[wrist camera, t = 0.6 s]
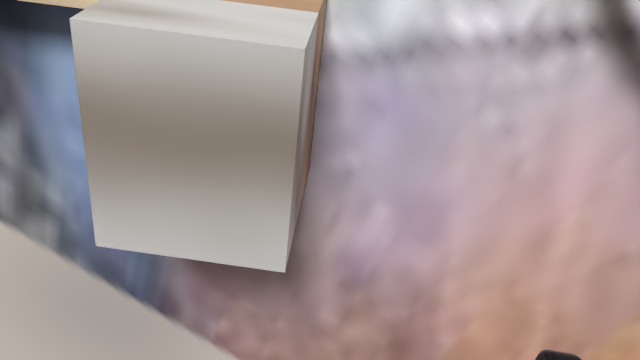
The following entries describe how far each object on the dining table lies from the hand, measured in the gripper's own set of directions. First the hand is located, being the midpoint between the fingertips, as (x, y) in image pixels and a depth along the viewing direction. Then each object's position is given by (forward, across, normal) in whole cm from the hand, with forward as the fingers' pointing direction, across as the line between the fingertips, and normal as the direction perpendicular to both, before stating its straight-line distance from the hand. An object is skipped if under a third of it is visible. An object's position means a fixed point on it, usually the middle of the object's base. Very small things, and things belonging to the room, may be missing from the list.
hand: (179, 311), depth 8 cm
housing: (+12, +2, +2) cm, 12 cm away
